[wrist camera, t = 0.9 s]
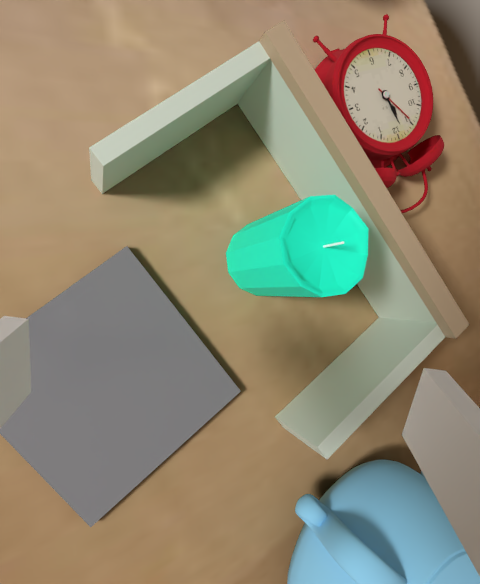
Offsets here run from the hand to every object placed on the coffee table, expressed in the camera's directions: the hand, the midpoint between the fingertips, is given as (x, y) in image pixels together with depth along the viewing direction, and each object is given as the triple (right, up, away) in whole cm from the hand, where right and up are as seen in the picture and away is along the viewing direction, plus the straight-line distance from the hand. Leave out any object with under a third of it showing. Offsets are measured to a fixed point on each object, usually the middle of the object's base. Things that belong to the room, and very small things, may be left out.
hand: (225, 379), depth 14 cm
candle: (+2, +6, +20) cm, 21 cm away
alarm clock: (+11, +17, +24) cm, 31 cm away
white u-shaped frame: (+2, +6, +20) cm, 21 cm away
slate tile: (-9, -4, +16) cm, 19 cm away
